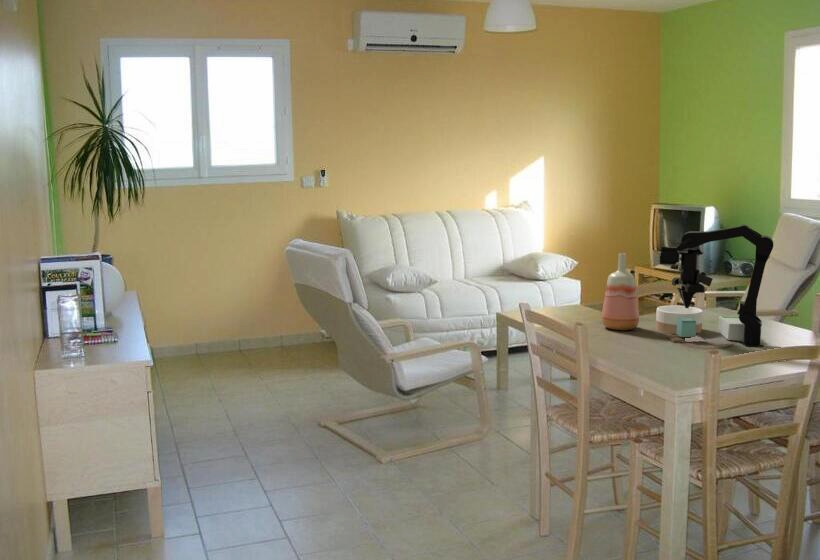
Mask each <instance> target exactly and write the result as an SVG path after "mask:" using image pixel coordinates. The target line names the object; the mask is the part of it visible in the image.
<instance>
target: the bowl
mask: <svg viewBox="0 0 820 560" xmlns="http://www.w3.org/2000/svg"><path fill="white" fill-rule="evenodd" d="M655 313H656V315H655V330H656V331H657V332H660V333H664V334H667V335H677V318H692V319H694V320H695V321H696V332H695V333H699V334H701V333H702V328H703V313H704V312H703V309H701V308H698V307H694V306H689V308H685V306H684V305H672V304H671V305H661V306H658V307H657V308H656V312H655ZM700 332H701V333H700Z"/></svg>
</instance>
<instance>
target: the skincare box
mask: <svg viewBox="0 0 820 560" xmlns="http://www.w3.org/2000/svg"><path fill="white" fill-rule="evenodd" d="M744 327H745V326H744V324H743V323H741V322H740V320H739V316H729V315H726V316H724V315H720V316H719V318H718V330H717V331H718V333H719V334H721V335H722V336H723V337H724V338H725V339H726V340H727V339H728V341H737V342H740V341H744Z"/></svg>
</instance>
